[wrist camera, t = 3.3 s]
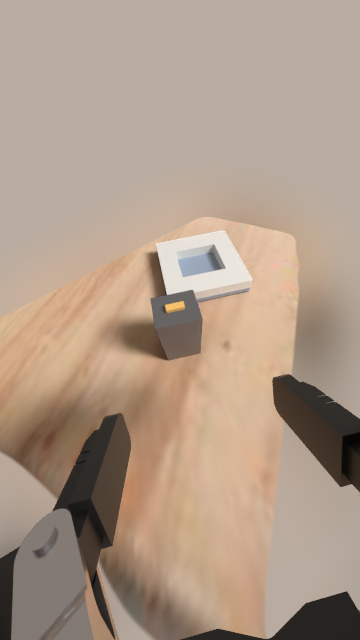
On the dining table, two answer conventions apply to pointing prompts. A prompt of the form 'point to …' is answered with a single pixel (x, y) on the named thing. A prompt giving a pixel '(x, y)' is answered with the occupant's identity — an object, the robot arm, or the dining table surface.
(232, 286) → the dock
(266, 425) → the dining table surface
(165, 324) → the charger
